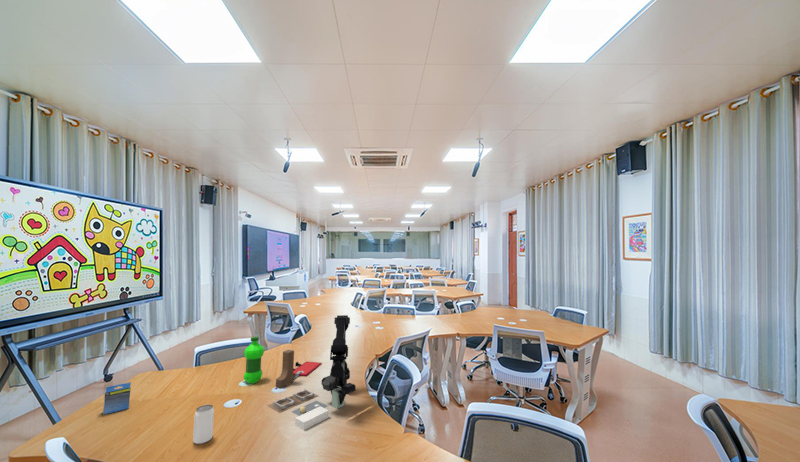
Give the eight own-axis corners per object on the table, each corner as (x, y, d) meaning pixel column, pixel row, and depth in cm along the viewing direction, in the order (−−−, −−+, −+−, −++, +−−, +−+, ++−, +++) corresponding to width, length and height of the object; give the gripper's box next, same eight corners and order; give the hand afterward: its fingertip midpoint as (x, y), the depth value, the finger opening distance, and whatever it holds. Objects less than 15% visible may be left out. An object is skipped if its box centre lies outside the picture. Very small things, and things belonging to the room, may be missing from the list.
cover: (320, 415, 140) (320, 406, 141) (328, 419, 137) (328, 410, 137) (295, 427, 130) (295, 417, 130) (303, 432, 126) (303, 422, 127)
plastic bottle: (264, 382, 176) (266, 338, 178) (243, 386, 170) (246, 340, 172) (261, 377, 184) (262, 334, 186) (241, 380, 178) (243, 336, 181)
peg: (338, 404, 150) (338, 387, 151) (343, 407, 148) (344, 389, 148) (331, 407, 147) (332, 390, 148) (337, 410, 144) (337, 392, 145)
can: (198, 435, 124) (200, 404, 125) (215, 434, 125) (217, 403, 126) (189, 444, 118) (191, 412, 119) (207, 444, 118) (208, 411, 119)
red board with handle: (276, 379, 181) (300, 382, 178) (276, 374, 181) (300, 377, 178) (301, 363, 210) (321, 365, 208) (301, 358, 210) (322, 360, 208)
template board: (316, 402, 152) (316, 396, 153) (328, 408, 147) (328, 401, 147) (291, 413, 141) (291, 407, 142) (302, 420, 136) (303, 413, 136)
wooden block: (281, 388, 168) (282, 354, 170) (275, 387, 170) (276, 353, 172) (293, 382, 177) (294, 350, 178) (287, 381, 178) (288, 349, 180)
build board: (306, 392, 164) (306, 387, 164) (319, 398, 157) (319, 392, 158) (266, 407, 147) (267, 402, 147) (279, 415, 140) (279, 409, 140)
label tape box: (128, 405, 148) (130, 379, 149) (129, 408, 145) (131, 381, 146) (103, 412, 142) (105, 384, 143) (103, 415, 139) (105, 387, 140)
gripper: (312, 369, 148) (311, 403, 147) (338, 379, 137) (337, 416, 135) (331, 363, 157) (330, 395, 156) (356, 371, 145) (356, 406, 144)
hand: (337, 402), depth 147 cm, fingers closed on peg, 4 cm apart
